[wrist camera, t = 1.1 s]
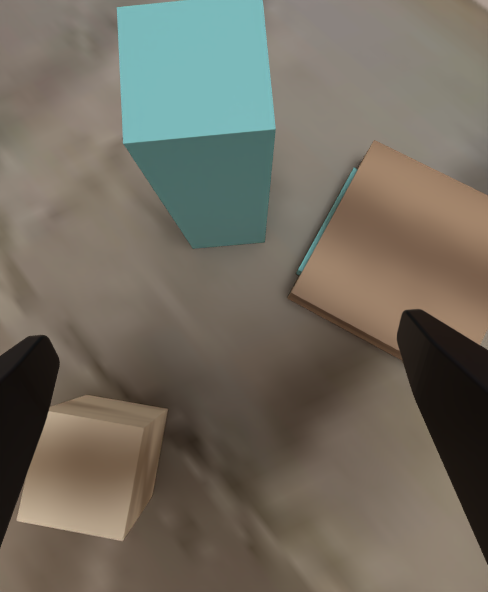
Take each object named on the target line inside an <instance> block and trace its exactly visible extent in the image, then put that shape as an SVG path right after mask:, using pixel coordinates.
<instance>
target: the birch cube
mask: <svg viewBox="0 0 488 592" xmlns="http://www.w3.org/2000/svg"><path fill="white" fill-rule="evenodd" d="M167 412H168V409H166V408H160V407H155V406H149V405H143V404H137V403H131V402H126V401H120V400H114V399H108V398H102V397H97V396H91V395H85V396H82V397H79V398H76V399H73V400H69V401H66V402H63V403H60V404H57V405H54V406H51V407H50V408H49V412H48V415H47V419H46V422H45V425H44V428H43V431H42V434H41V437H40V439H39V442H38V445H37V448H36V450H35V453H34V456H33V459H32V461H31V464H30V467H29V470H28V472H27V475H26V480H25V484H24V489H23V493H22V498H21V503H20V507H19V512H18V516H17V521H20V522H25V523H31V524H36V525H41V526H46V527H52V528H57V529H62V530H67V531H73V532H78V533H83V534H88V535H94V536H99V537H104V538H109V539H115V540H120V541H123V540H124V539H125V537H126V536H127V534H128V533H129V531H130V529H131V528H132V526H133V525H134V523H135V522H136V520H137V519H138V517H139V516H140V514H141V513H142V511H143V510H144V508H145V507H146V505H147V504H148V502H149V501H150V499H151V498H152V496H153V490H154V484H155V479H156V473H157V468H158V462H159V457H160V451H161V446H162V440H163V434H164V429H165V423H166V418H167Z"/></svg>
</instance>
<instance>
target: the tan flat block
mask: <svg viewBox="0 0 488 592" xmlns="http://www.w3.org/2000/svg"><path fill="white" fill-rule="evenodd" d="M296 274H297V275H299V277H298V279H297V281H296V283H295V285H294V286H293V288H292V290H291V292H290V294H289V296H288V297H287V298H288V299H290V300H291V301H293V302H295V303H297V304H299V305H301V306H302V307H304V308H306V309H308V310H310V311H312V312H314V313H315V314H317V315H319V316H321V317H323V318H325V319H326V320H328V321H330V322H332V323H334V324H336V325H338V326H339V327H341V328H343V329H345V330H347V331H349V332H350V333H352V334H354V335H356V336H358V337H360V338H362V339H363V340H365V341H367V342H369V343H371V344H373V345H374V346H376V347H378V348H380V349H382V350H384V351H385V352H387V353H389V354H391V355H393V356H395V357H397V358H398V359H400V360H402V357H401V353H400V350H399V347H398V343H397V331H398V327H399V323H400V319H401V315H402V312H403V311H404V310H409V309H422V310H424V311H425V312H427V313H429V314H430V315H432V316H433V317H435V318H437V319H438V320H440V321H442V322H443V323H445V324H446V325H448V326H450V327H451V328H453V329H455V330H456V331H458V332H459V333H461V334H463V335H464V336H466V337H468V338H469V339H471V340H472V341H474V342H476V343H477V344H479V345H480V344H481V342H482V340H483V337H484V335H485V333H486V331H487V329H488V195H486V194H484V193H482V192H479V191H477V190H475V189H473V188H471V187H469V186H467V185H465V184H463V183H461V182H459V181H457V180H455V179H453V178H451V177H449V176H447V175H445V174H443V173H441V172H439V171H437V170H435V169H432V168H430V167H428V166H426V165H424V164H422V163H420V162H418V161H416V160H414V159H412V158H410V157H408V156H406V155H404V154H402V153H400V152H398V151H396V150H394V149H392V148H390V147H388V146H385V145H383V144H381V143H379V142H377V141H375V140H374V141H373V143H372V145H371V146H370V148H369V150H368V151H367V153H366V155H365V156H364V158H363V160H362V162H361V163H360V165H359V167H358V169H356V168H353V170H352V172H351V174H350V175H349V177H348V179H347V181H346V183H345V185H344V186H343V188H342V190H341V192H340V194H339V196H338V197H337V199H336V201H335V203H334V205H333V207H332V208H331V210H330V212H329V214H328V216H327V218H326V219H325V221H324V223H323V225H322V227H321V229H320V230H319V232H318V234H317V236H316V238H315V240H314V241H313V243H312V245H311V247H310V249H309V251H308V252H307V254H306V256H305V258H304V260H303V262H302V263H301V265H300V267H299V269H298V271H297V273H296ZM402 361H403V360H402Z"/></svg>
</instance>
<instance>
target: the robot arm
mask: <svg viewBox="0 0 488 592" xmlns="http://www.w3.org/2000/svg"><path fill="white" fill-rule="evenodd" d="M397 343H398V347H399V350H400V353H401V357H402V360H403V363H404V367H405V370H406V373H407V376H408V380H409V383H410V386H411V389H412V392H413V395H414V398H415V400H416V403H417V405H418V408H419V410H420V412H421V414H422V417H423V419H424V421H425V423H426V426H427V428H428V430H429V433H430V435H431V437H432V439H433V442H434V444H435V446H436V448H437V451H438V453H439V455H440V458H441V460H442V462H443V464H444V467H445V469H446V471H447V473H448V476H449V478H450V480H451V483H452V485H453V487H454V489H455V492H456V494H457V496H458V498H459V501H460V503H461V505H462V507H463V510H464V512H465V514H466V517H467V519H468V521H469V523H470V526H471V528H472V530H473V532H474V535H475V537H476V539H477V542H478V544H479V546H480V548H481V551H482V553H483V555H484V557H485V560H486V562H487V564H488V350H487V349H485V348H484V347H482V346H481V345H479V344H477V343H476V342H474V341H472V340H471V339H469V338H468V337H466V336H464V335H463V334H461V333H459V332H458V331H456V330H455V329H453V328H451V327H450V326H448V325H446V324H445V323H443V322H442V321H440V320H438V319H437V318H435V317H433V316H432V315H430V314H429V313H427V312H425V311H424V310H422V309H409V310H404V311H403V312H402V315H401V319H400V323H399V327H398V331H397ZM59 365H60V361H59V357H58V355H57V353H56V351H55V349H54V347H53V345H52V343H51V341H50V339H49V338H48V337H47V336H45V335H35V336H29V337H27V338H25V339H24V340H22V341H21V342H19V343H18V344H17V345H15V346H14V347H12V348H11V349H9V350H8V351H7V352H5V353H4V354H2V355H1V356H0V547H1V544H2V541H3V539H4V536H5V533H6V530H7V528H8V525H9V522H10V519H11V517H12V514H13V511H14V508H15V506H16V503H17V500H18V497H19V495H20V492H21V489H22V486H23V483H24V481H25V478H26V475H27V472H28V470H29V467H30V464H31V461H32V459H33V456H34V453H35V450H36V448H37V445H38V442H39V439H40V437H41V434H42V431H43V428H44V425H45V422H46V419H47V415H48V412H49V408H50V404H51V399H52V395H53V391H54V387H55V383H56V379H57V374H58V370H59Z"/></svg>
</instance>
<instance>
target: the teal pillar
mask: <svg viewBox="0 0 488 592" xmlns="http://www.w3.org/2000/svg"><path fill="white" fill-rule="evenodd" d="M117 18H118V40H119V61H120V83H121V105H122V126H123V144H124V145H125V147H126V148H127V150H128V151H129V153H130V154H131V156H132V157H133V159H134V161H135V162H136V164H137V165H138V167H139V168H140V170H141V171H142V173H143V174H144V176H145V177H146V179H147V180H148V182H149V183H150V185H151V186H152V188H153V189H154V191H155V192H156V194H157V195H158V197H159V198H160V200H161V201H162V203H163V204H164V206H165V207H166V209H167V210H168V212H169V213H170V215H171V216H172V218H173V219H174V221H175V222H176V224H177V225H178V227H179V228H180V230H181V231H182V233H183V234H184V236H185V237H186V239H187V240H188V242H189V243H190V245H191V246H192V248H193V249H195V248H206V247H217V246H229V245H240V244H251V243H262V242H265V233H266V223H267V212H268V202H269V192H270V181H271V171H272V161H273V150H274V140H275V130H276V129H275V119H274V109H273V99H272V89H271V79H270V69H269V59H268V49H267V39H266V29H265V19H264V9H263V0H184V1H175V2H165V3H155V4H145V5H135V6H126V7H117Z"/></svg>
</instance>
